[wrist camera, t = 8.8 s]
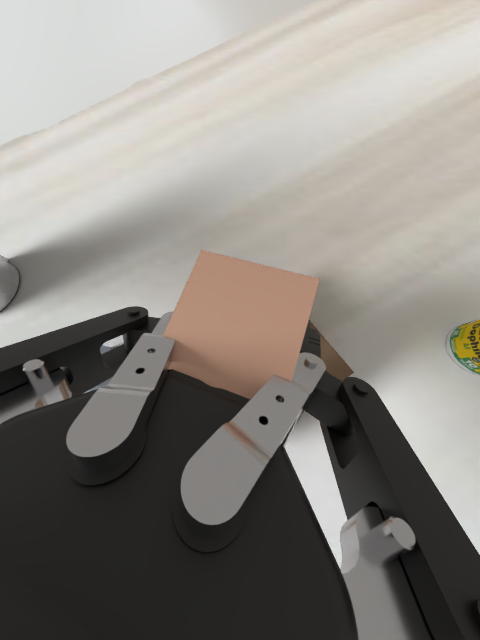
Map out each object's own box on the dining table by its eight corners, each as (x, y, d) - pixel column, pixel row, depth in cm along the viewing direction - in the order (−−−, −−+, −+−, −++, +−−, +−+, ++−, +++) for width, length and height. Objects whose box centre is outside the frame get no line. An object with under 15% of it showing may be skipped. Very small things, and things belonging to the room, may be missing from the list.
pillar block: (215, 373, 17) (150, 362, 7) (234, 319, 18) (201, 250, 8) (271, 394, 16) (282, 413, 6) (288, 336, 17) (320, 279, 7)
